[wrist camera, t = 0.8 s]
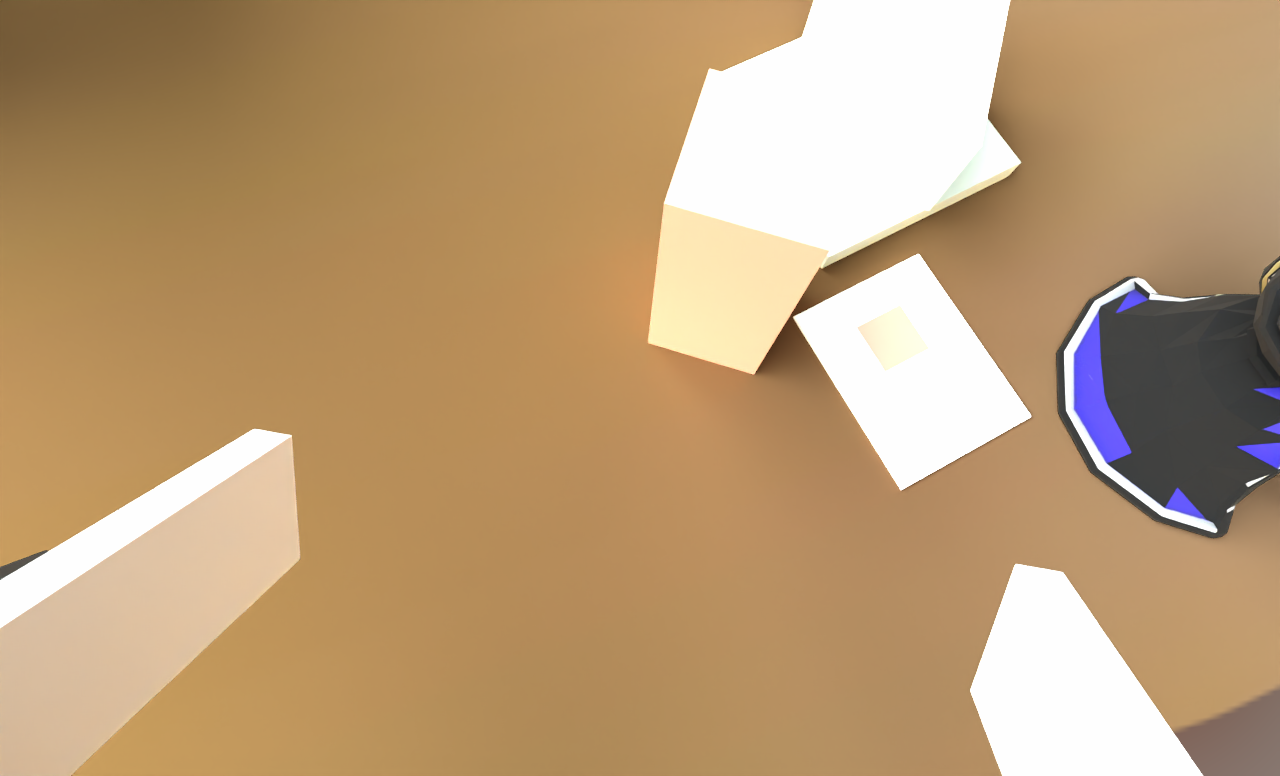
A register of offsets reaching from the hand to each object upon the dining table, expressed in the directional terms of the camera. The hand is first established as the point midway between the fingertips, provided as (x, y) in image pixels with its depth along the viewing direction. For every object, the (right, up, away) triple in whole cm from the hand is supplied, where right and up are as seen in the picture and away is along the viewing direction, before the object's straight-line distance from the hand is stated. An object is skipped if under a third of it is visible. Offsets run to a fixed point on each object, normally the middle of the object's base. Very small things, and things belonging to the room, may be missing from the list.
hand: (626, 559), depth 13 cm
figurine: (+23, +2, +19) cm, 30 cm away
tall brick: (+4, +7, +20) cm, 21 cm away
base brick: (+11, +16, +22) cm, 29 cm away
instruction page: (+12, +4, +19) cm, 23 cm away
